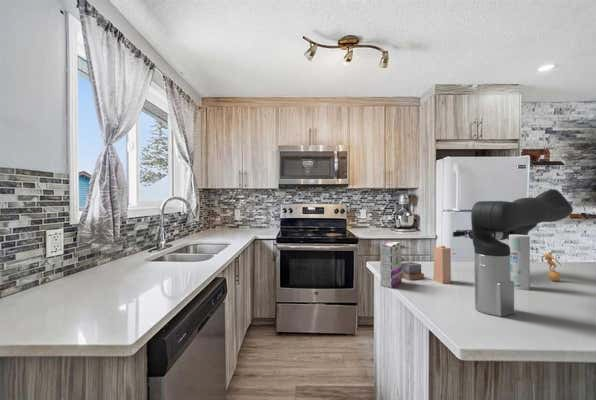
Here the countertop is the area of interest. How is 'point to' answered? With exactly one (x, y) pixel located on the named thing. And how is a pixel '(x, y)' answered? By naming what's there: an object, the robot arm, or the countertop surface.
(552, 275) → the figurine
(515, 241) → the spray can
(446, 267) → the terracotta brick
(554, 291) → the countertop surface
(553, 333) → the countertop surface
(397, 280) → the candy bar box
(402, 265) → the tower stand
